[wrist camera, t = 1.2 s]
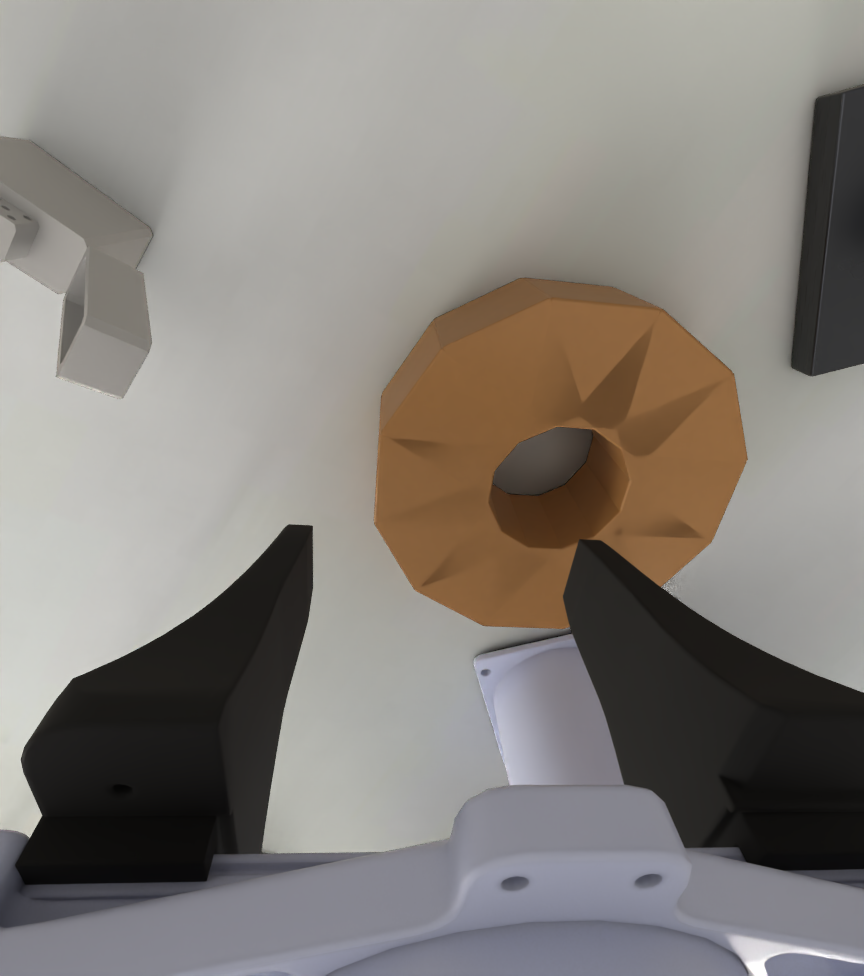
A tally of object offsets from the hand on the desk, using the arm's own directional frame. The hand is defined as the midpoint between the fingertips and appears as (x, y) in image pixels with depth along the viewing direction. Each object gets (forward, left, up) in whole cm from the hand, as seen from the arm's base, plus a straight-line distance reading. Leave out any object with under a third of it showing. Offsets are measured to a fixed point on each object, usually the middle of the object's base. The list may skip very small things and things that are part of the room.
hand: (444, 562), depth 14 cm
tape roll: (-2, -4, -8) cm, 9 cm away
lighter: (+9, +8, -9) cm, 15 cm away
